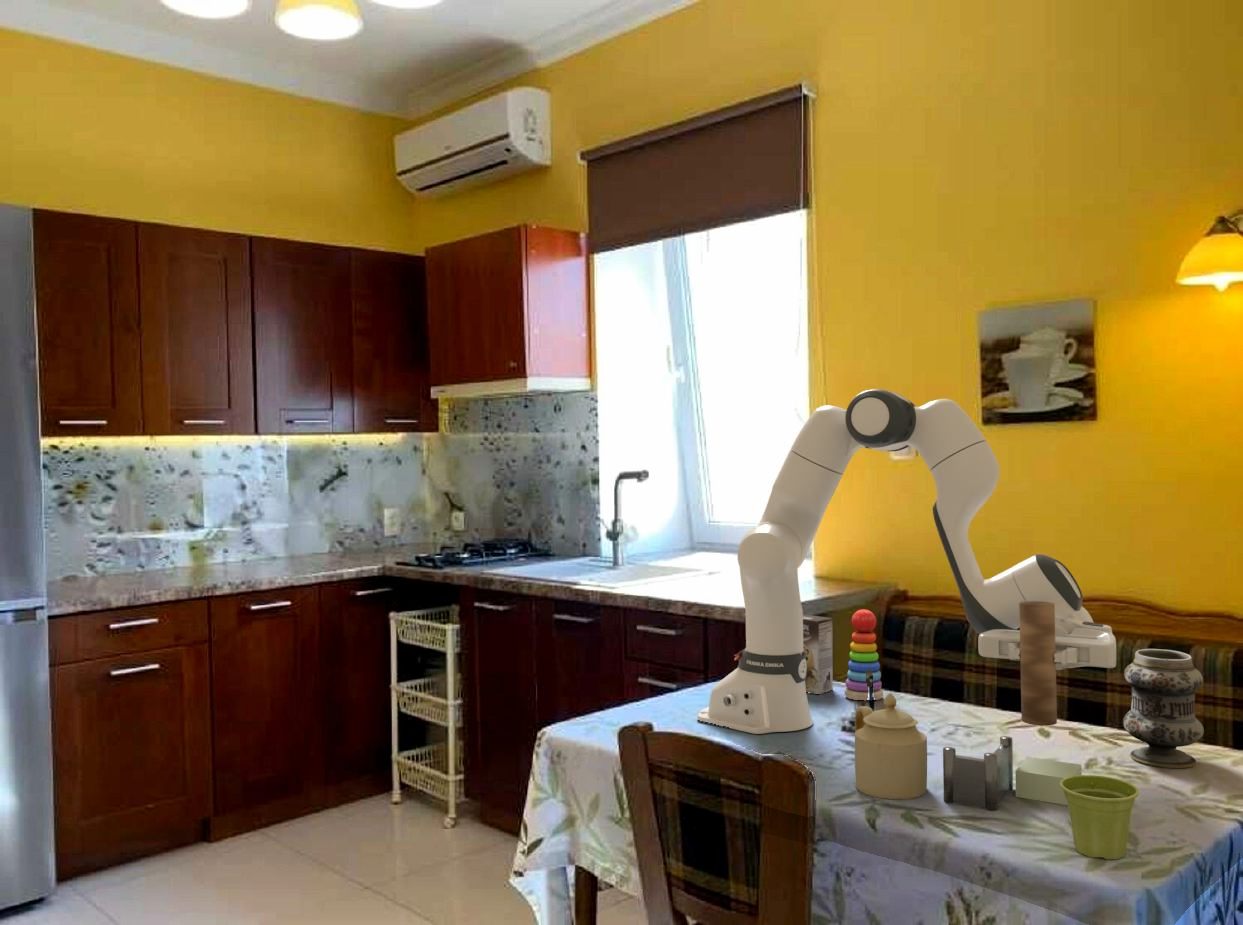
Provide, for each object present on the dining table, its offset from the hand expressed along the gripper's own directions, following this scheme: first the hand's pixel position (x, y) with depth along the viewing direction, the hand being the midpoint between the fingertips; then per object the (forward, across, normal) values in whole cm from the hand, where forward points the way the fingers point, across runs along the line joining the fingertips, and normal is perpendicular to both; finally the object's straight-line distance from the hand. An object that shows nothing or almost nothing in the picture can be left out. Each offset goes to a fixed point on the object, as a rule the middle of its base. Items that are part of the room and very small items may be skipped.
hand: (1036, 657), depth 156 cm
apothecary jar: (-29, +14, +22) cm, 39 cm away
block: (-2, +1, +21) cm, 21 cm away
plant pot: (+18, +11, +22) cm, 30 cm away
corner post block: (+4, -8, +21) cm, 23 cm away
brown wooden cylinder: (-1, 0, +10) cm, 10 cm away
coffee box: (-46, -57, +21) cm, 76 cm away
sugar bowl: (+7, -22, +21) cm, 32 cm away
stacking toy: (-45, -44, +21) cm, 67 cm away
